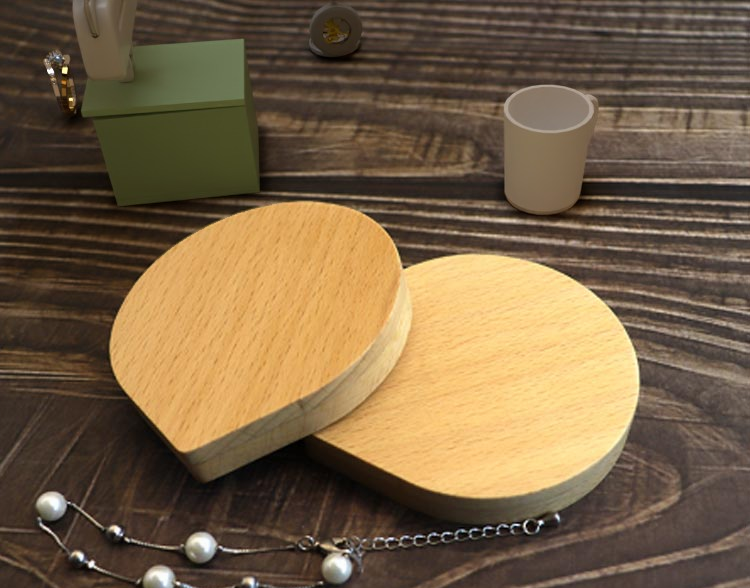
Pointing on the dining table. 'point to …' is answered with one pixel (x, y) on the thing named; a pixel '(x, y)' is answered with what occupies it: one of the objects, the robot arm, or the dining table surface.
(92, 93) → the lid
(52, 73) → the ring
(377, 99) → the dining table surface
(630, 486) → the dining table surface
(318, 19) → the pocket watch
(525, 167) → the mug
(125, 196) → the chest
